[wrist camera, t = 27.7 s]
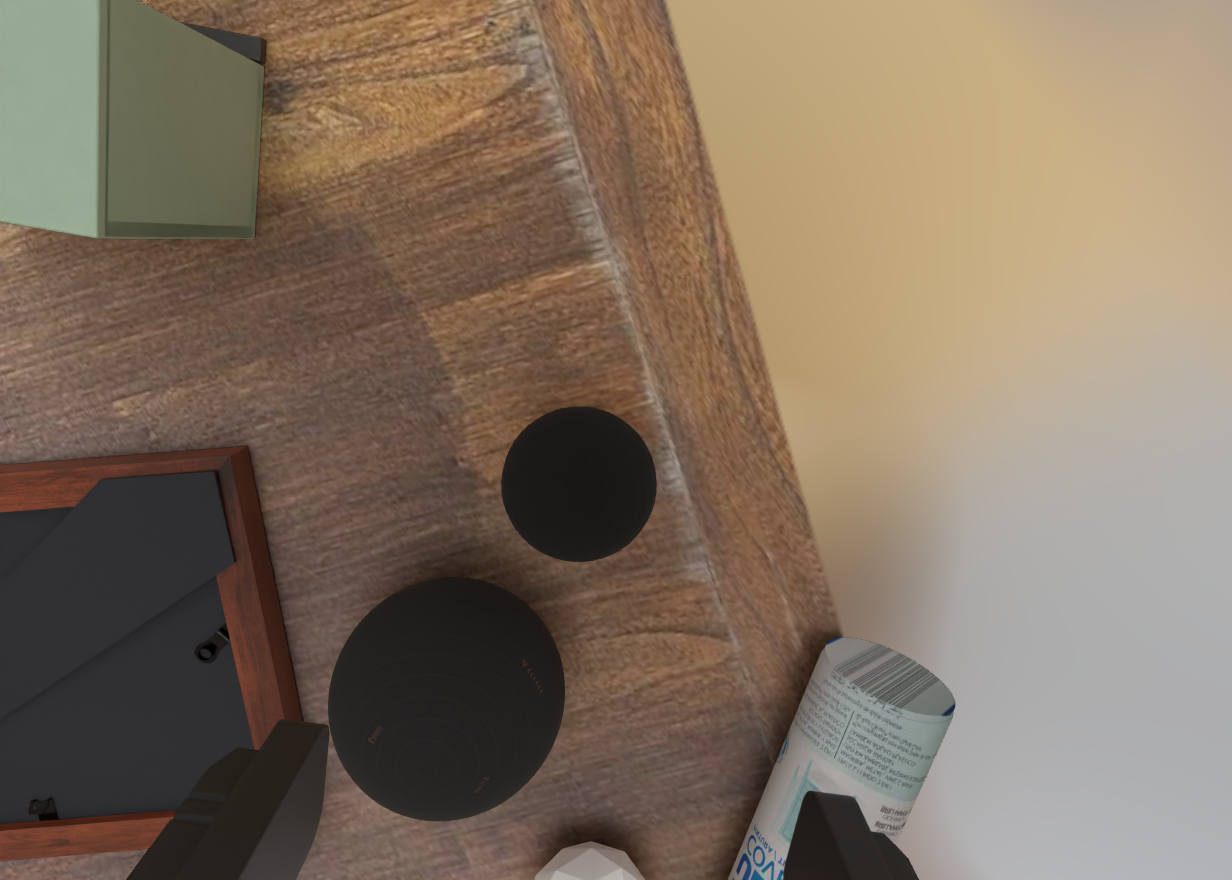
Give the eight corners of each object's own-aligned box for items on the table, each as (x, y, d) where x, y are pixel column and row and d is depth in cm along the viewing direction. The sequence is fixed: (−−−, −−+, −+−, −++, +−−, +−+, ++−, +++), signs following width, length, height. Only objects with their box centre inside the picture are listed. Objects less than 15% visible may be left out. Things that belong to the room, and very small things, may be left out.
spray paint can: (854, 625, 40) (732, 922, 45) (797, 651, 35) (667, 982, 40) (977, 695, 36) (830, 1013, 41) (932, 736, 31) (770, 1092, 36)
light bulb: (630, 363, 35) (643, 409, 26) (656, 482, 37) (677, 569, 27) (506, 391, 35) (472, 447, 26) (536, 508, 37) (515, 603, 27)
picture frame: (247, 446, 36) (-298, 488, 35) (227, 457, 34) (-350, 502, 33) (320, 811, 41) (-156, 850, 40) (307, 840, 39) (-195, 880, 38)
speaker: (339, 683, 39) (255, 829, 29) (408, 512, 37) (342, 609, 27) (522, 750, 40) (500, 911, 30) (600, 588, 38) (602, 707, 28)
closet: (-13, -14, 31) (-335, -149, 20) (266, 40, 32) (99, -62, 21) (-8, 193, 33) (-300, 170, 22) (255, 239, 33) (97, 238, 23)
